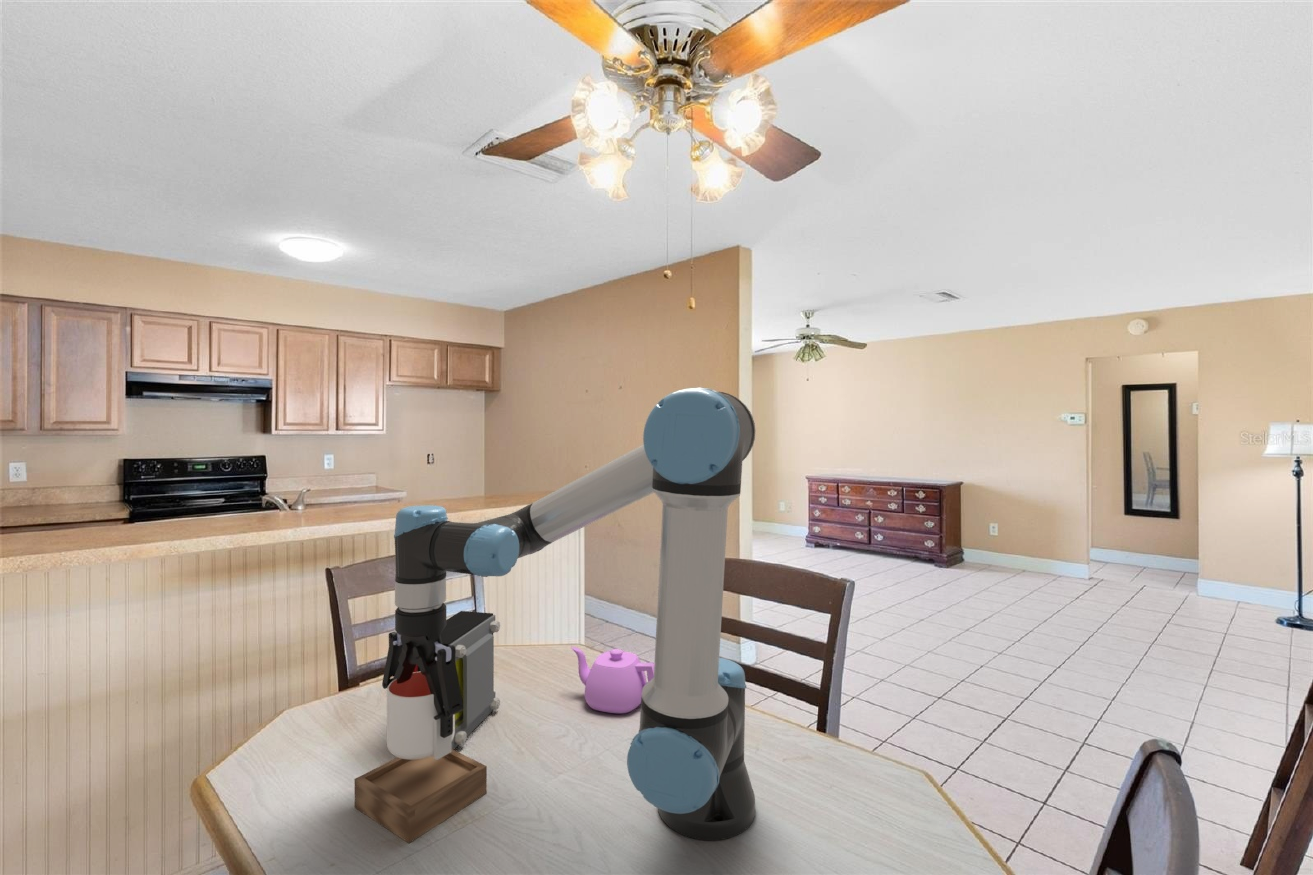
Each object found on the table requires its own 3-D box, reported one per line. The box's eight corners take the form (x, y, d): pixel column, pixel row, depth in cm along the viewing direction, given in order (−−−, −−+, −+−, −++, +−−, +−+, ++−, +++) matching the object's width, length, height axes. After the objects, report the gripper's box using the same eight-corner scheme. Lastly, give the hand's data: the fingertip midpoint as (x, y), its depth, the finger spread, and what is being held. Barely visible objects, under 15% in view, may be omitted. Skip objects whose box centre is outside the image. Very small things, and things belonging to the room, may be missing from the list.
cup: (441, 723, 103) (441, 665, 103) (464, 748, 95) (464, 685, 95) (378, 743, 97) (378, 681, 96) (398, 771, 89) (398, 704, 89)
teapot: (583, 682, 140) (583, 634, 139) (666, 694, 134) (667, 644, 134) (557, 708, 127) (557, 656, 127) (647, 723, 121) (648, 668, 121)
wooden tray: (486, 793, 98) (486, 766, 98) (408, 843, 87) (408, 812, 86) (432, 765, 106) (432, 739, 106) (354, 807, 94) (354, 779, 94)
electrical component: (459, 754, 109) (459, 645, 109) (408, 748, 111) (407, 640, 111) (503, 709, 127) (503, 614, 126) (458, 704, 129) (458, 610, 128)
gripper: (488, 612, 92) (488, 756, 93) (400, 587, 105) (400, 714, 105) (446, 626, 86) (446, 780, 87) (358, 598, 98) (358, 732, 99)
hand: (421, 744), depth 96 cm, fingers closed on cup, 10 cm apart
